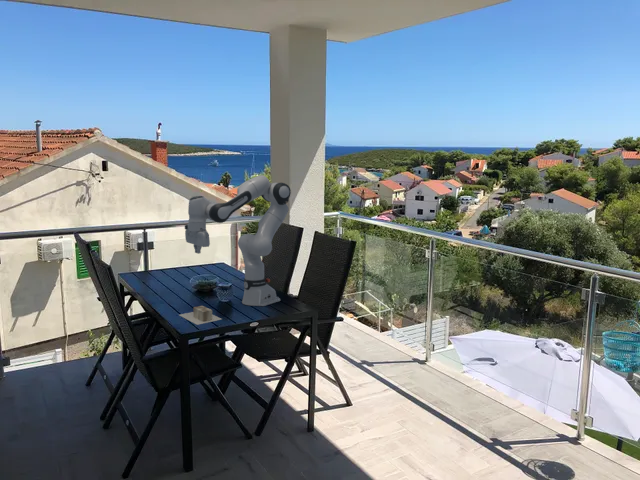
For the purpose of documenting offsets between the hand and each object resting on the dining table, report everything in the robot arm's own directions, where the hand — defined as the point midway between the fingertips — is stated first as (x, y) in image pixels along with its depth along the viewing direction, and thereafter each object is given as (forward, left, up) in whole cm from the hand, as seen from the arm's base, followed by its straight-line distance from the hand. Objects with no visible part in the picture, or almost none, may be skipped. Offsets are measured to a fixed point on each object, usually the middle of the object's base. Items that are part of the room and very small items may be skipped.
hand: (197, 253), depth 252 cm
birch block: (+6, +11, -28) cm, 31 cm away
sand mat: (+6, +13, -31) cm, 34 cm away
